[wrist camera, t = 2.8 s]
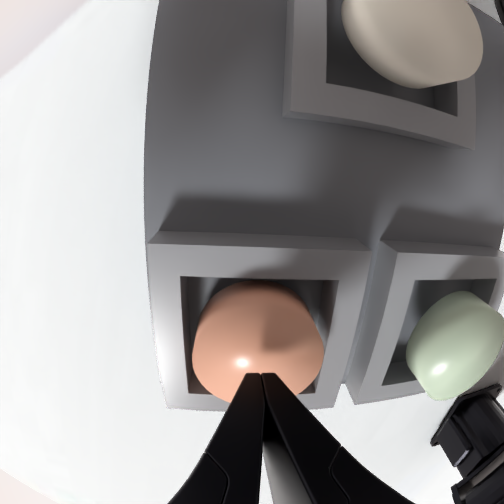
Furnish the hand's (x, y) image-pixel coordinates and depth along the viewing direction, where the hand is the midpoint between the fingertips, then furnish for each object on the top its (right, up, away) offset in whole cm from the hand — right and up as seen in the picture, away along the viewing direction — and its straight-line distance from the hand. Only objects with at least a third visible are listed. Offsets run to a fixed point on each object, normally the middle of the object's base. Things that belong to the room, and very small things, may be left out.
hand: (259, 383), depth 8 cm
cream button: (+4, +11, -1) cm, 12 cm away
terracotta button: (0, +1, +3) cm, 3 cm away
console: (+4, +8, +5) cm, 10 cm away
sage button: (+8, 0, +2) cm, 8 cm away
